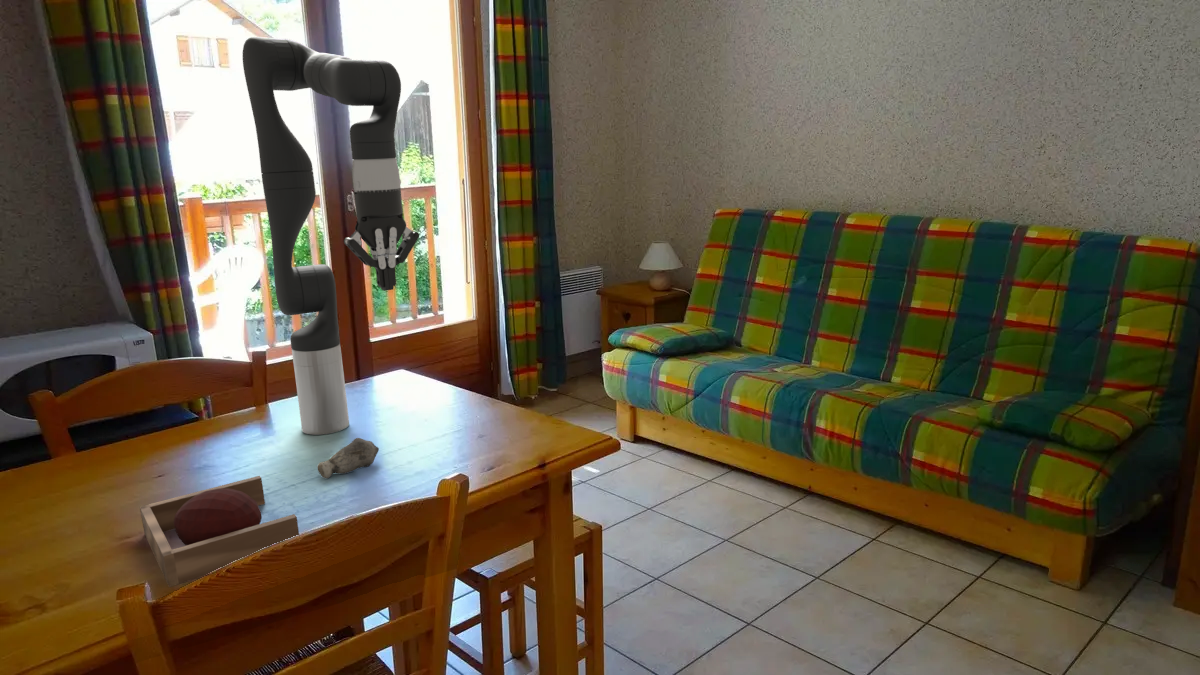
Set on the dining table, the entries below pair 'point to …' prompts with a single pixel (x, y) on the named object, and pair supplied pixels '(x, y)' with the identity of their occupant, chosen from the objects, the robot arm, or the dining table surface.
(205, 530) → the potato
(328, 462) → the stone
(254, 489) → the corral
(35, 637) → the dining table surface
